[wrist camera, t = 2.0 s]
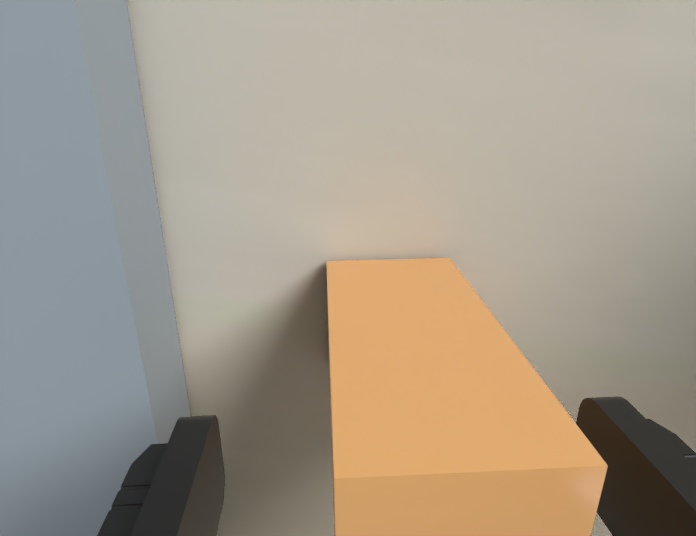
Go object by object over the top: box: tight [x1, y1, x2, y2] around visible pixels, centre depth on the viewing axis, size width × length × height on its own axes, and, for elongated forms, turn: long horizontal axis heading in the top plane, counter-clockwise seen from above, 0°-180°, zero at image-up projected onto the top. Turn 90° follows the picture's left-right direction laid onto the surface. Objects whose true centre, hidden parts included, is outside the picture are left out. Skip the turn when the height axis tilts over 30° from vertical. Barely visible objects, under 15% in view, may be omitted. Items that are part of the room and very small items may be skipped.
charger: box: [326, 258, 608, 536], centre depth 12 cm, size 4×4×9 cm
